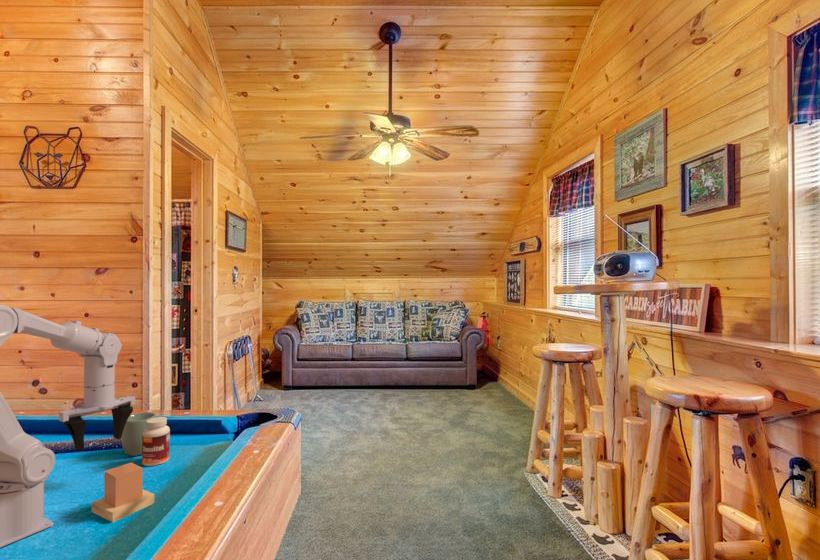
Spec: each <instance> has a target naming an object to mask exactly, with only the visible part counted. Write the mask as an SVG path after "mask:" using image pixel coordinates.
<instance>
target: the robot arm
mask: <svg viewBox="0 0 820 560" xmlns="http://www.w3.org/2000/svg"><path fill="white" fill-rule="evenodd" d="M82 323H83V322H82V321H79V320H71V321H65V322H62V323H56V322H53V321H51V320H48V319H46V318H44V317H41V316H38V315H35V314H32V313H30V312H27V311H24V310H23V309H21V308H18V307H10V306H8V305H6V304H0V347H1V346H2V345H3V344H5V342H6V341H7V340H8V339H9V338H10V337H11V336H12V335H13V334H20V333H21V334H25V335H29V336H35V337H38V338H43V339H47V340H49V341H50V343H51V345H52V347H54V348H56V349H60V350H64V351H67V352H72V353H76V354H77V355H78V356H80V357H81V358H83V404H81V405H78V406H75V407H71V408H69V409H64V410H61V411H58V421H59V422H62V423H63V424H64V426H65V428H66V429H67V430H68V431H69V434H70V436H71V438H72V441H73V444H74V448H75V450H76V451H78V452H80V451H84V449H85V429H86V424H87V421H86V420H84V419H83V417H85V416H90V415H94V414H98V413H103V412H105V411H106V412H107V411H110V410H111V414H112V415H111V416H112V421H113V422H112V424H113V427H112V431H113V433H112V434H113V435H112V436H113V439H116V440H122V438H121V437H122V433H123V430H124V427H125V424H126V422H127V420H128V418H129V416H130V415H132V414H133V412H134V411H133V410H134V408H133V407H134V406H135V405H136V396H133V395H127V396H123V397H117V398H116V396H115V395H116V391H115V388H116V385H115V384H116V382H115V381H116V375H115V374H116V373H115V372H116V371H115V370H116V364H117V362H118V355H119V353H120V352H121V350H122V346H123V345H122V344H123V343H121V341H120V339H119V337H118V336H117V335H116V334H115V333H112V332H101V331H100V329H99V328H97V327H91V328H90V327H87V326H85V325H82ZM55 463H56V455H55V452H54V451H53V450H51V449H50V448H48V447H45V446H44V444H42V441H40V440H39V439H37V438H35V437H33V436H31V435H29V434H28V433H26V432H25V431H24V430H23V428H22V426H21V424H20V423H19V421H18V419H17V417H16V416H15V414H14V412H13V411H12V409H11V407H10V406H9V404H8V402H7V400H6V399H5V396H3V394H2V392H1V391H0V548H3V547H5V546H9V544H12V543H14V542H16V541H19V540H21V539H24V538H27V537H29V536H31V535H34V534H36V533H38V532H41V531H43V530H46V529H48V528H50V527H52V526H54V522H53V521H51V520H49V519H48V518H47V517H45V481H47V479H48V476H50V474H51V473H52V471H53V469H54V467H55Z"/></svg>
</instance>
